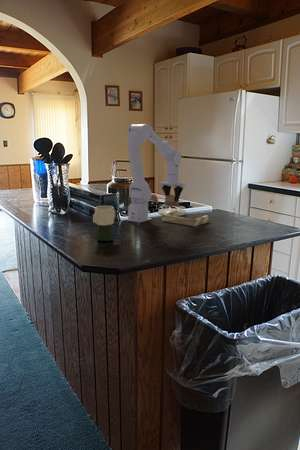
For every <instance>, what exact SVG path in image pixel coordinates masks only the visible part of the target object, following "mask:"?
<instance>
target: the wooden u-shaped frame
mask: <svg viewBox="0 0 300 450" xmlns="http://www.w3.org/2000/svg"><path fill="white" fill-rule="evenodd" d="M177 215H178V211H173V212H169V213H165V214H162V215H161V221H162V222H166V223H167V222H168V223H173V224H177V225H182V226H183V225H185V226H190V227H198V226H200V225H202V224H203V225H204V224H206V223H208V222H209V215H206V214H205V215H203V216H199V217H197V218H189V217H184V216H177Z"/></svg>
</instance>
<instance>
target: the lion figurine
mask: <svg viewBox="0 0 300 450" xmlns="http://www.w3.org/2000/svg"><path fill="white" fill-rule="evenodd" d="M150 201H151V204H153V205H154V203H156V205H157V204H158V205H160V203H159V199H158V196H157V195H156V194H155V193H154V194H153V193H152V196H151V199H150V200H149V202H150Z"/></svg>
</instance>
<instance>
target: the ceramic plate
mask: <svg viewBox="0 0 300 450" xmlns="http://www.w3.org/2000/svg"><path fill="white" fill-rule="evenodd" d="M173 211H178V215H177V216H178V217H183V216H185V215H186V213H187V210H185V209H183V208H172V207H171V208H161V209H159V210H158V214H159V213H160V214H159V216H162V214H165V213H169V212H173Z"/></svg>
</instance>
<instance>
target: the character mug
mask: <svg viewBox="0 0 300 450" xmlns="http://www.w3.org/2000/svg"><path fill="white" fill-rule="evenodd" d="M115 219H116V210H115V208H114V206H112V205H97V206H95V207H94V214H92V221H93V223H95V224H96V225H98V226H97V231H96V241H101V242H108V241H112V240H114V236H113V235H114V234H113V233H114V232H113V228H112V225H113V224H114V223H115Z"/></svg>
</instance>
